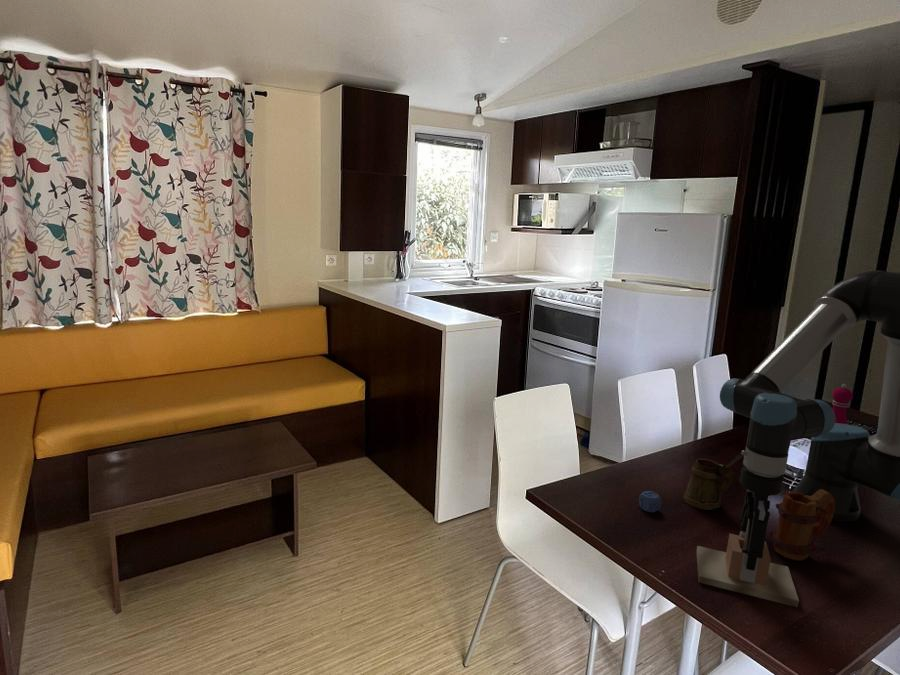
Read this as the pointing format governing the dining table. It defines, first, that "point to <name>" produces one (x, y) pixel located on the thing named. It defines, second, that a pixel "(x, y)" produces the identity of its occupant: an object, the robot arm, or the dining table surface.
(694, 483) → the wooden mug
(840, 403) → the pepper mill
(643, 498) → the decorative dice
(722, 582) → the peg stand
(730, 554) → the bead
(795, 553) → the mug
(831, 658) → the dining table surface
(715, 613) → the dining table surface
